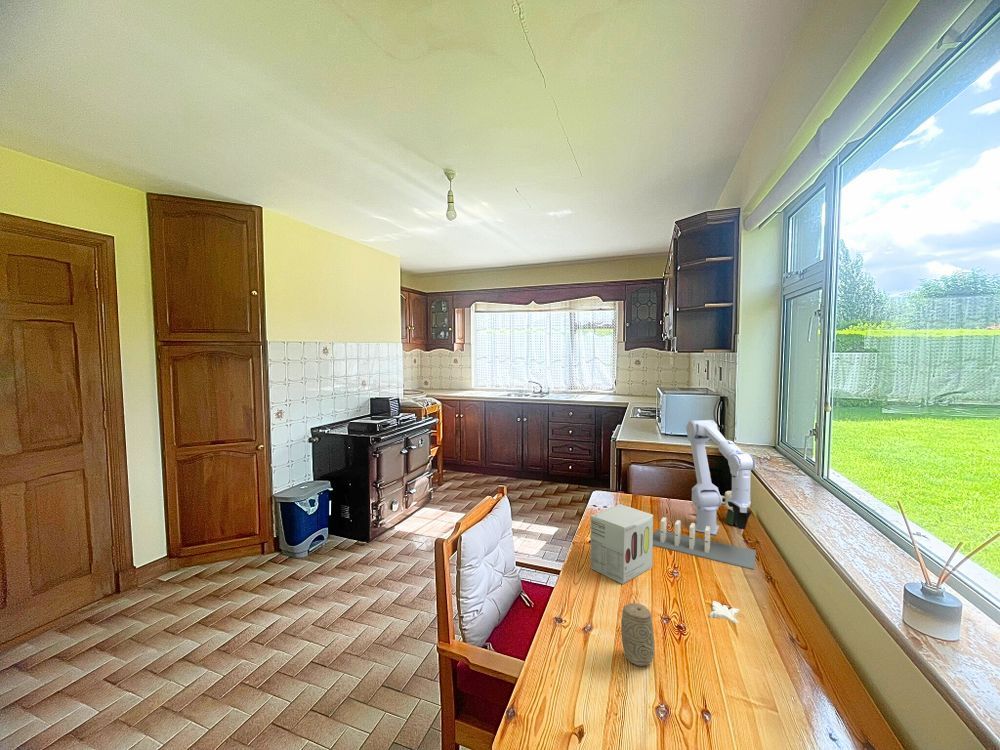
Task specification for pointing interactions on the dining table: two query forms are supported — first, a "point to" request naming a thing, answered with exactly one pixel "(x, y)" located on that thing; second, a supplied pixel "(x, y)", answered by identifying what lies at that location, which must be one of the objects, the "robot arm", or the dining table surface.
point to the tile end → (739, 531)
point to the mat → (716, 552)
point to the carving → (637, 634)
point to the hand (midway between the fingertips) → (740, 525)
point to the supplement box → (621, 542)
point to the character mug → (729, 508)
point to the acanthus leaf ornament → (723, 612)
